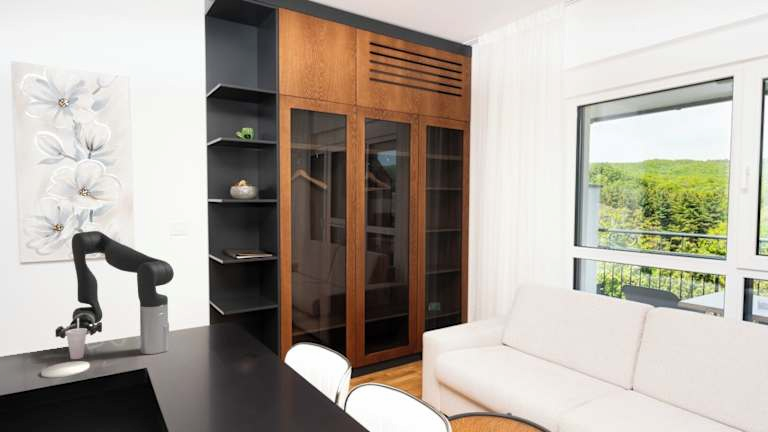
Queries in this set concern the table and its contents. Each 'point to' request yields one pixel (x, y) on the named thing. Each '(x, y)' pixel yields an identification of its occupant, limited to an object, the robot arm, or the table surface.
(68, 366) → the plate
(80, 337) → the smoothie
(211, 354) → the table surface
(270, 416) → the table surface
